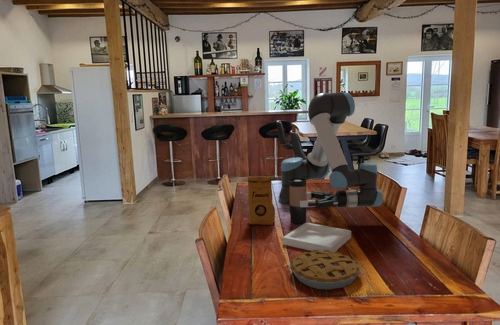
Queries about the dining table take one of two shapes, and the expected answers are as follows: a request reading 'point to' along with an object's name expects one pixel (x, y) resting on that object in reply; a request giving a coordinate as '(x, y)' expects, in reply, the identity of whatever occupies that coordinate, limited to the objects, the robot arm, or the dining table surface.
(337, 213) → the dining table surface
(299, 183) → the travel mug
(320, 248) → the tray
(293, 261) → the pie
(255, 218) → the coffee package
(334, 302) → the dining table surface
